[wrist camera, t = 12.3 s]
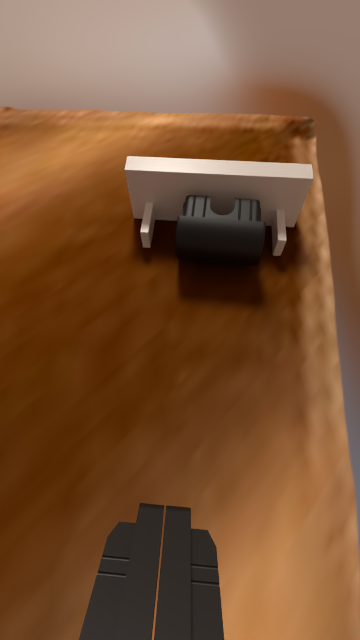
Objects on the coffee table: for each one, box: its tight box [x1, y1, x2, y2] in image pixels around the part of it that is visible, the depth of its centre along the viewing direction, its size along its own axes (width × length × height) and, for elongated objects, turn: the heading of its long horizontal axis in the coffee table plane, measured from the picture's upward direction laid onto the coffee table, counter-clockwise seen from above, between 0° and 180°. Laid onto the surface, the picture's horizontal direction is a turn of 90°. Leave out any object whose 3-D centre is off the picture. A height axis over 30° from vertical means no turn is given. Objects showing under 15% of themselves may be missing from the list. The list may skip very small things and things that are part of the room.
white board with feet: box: [124, 156, 313, 256], centre depth 42 cm, size 22×7×8 cm, turn 85°
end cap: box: [175, 195, 266, 266], centre depth 41 cm, size 10×7×7 cm
